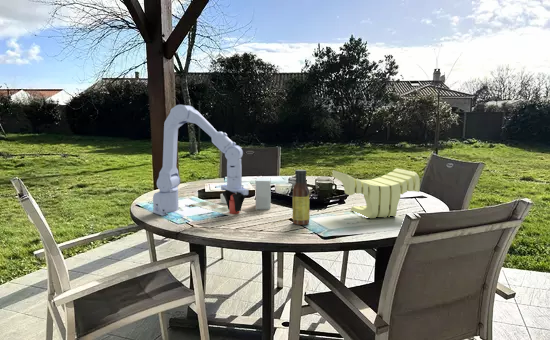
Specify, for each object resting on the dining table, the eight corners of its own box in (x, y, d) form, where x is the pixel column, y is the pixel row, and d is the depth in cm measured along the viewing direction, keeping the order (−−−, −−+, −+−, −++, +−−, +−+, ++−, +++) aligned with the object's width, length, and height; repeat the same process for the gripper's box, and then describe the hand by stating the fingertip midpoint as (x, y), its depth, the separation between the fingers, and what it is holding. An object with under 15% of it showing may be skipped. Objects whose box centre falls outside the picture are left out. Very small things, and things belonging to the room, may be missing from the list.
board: (230, 219, 141) (230, 216, 141) (189, 206, 160) (189, 204, 160) (249, 214, 148) (249, 212, 148) (208, 203, 167) (208, 201, 167)
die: (229, 206, 161) (229, 195, 161) (220, 205, 164) (220, 194, 163) (236, 204, 166) (236, 193, 165) (227, 203, 168) (227, 192, 167)
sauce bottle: (312, 224, 135) (314, 170, 132) (298, 226, 132) (299, 171, 129) (302, 220, 140) (303, 168, 138) (288, 222, 137) (289, 169, 135)
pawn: (233, 214, 144) (233, 195, 143) (227, 212, 146) (227, 193, 145) (241, 212, 147) (241, 193, 146) (235, 210, 149) (234, 192, 148)
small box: (256, 207, 161) (256, 177, 159) (270, 207, 161) (270, 177, 159) (255, 211, 153) (255, 180, 151) (270, 211, 153) (270, 180, 151)
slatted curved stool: (348, 222, 138) (350, 175, 136) (331, 212, 153) (332, 169, 151) (417, 217, 146) (420, 173, 144) (394, 208, 161) (396, 168, 159)
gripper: (254, 177, 142) (254, 211, 144) (230, 173, 152) (230, 205, 154) (240, 179, 137) (240, 214, 139) (216, 175, 147) (217, 208, 149)
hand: (234, 210), depth 146 cm, fingers closed on pawn, 4 cm apart
